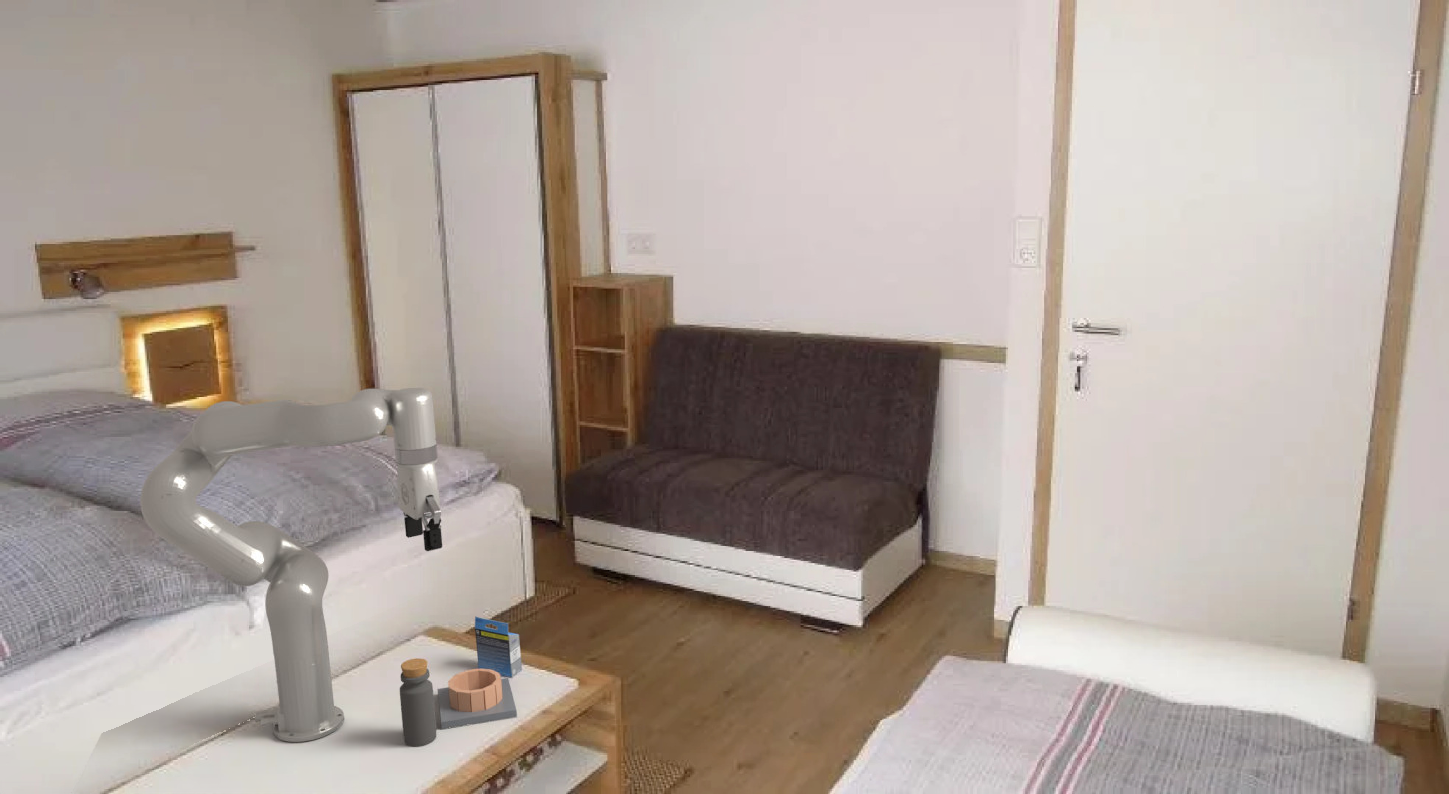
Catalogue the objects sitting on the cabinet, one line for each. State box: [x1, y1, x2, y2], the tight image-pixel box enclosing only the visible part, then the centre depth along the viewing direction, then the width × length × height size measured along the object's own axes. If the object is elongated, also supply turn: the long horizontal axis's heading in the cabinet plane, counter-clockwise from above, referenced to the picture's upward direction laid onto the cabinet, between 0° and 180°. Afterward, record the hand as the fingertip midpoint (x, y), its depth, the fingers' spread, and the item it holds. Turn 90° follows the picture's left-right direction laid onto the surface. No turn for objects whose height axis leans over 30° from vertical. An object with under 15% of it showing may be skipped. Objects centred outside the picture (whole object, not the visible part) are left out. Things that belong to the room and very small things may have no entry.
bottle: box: [399, 658, 437, 747], centre depth 193 cm, size 6×6×15 cm
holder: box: [437, 668, 518, 730], centre depth 206 cm, size 14×14×6 cm
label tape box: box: [474, 616, 523, 678], centre depth 220 cm, size 9×4×12 cm, turn 65°
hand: (423, 542), depth 198 cm, fingers open, 9 cm apart
